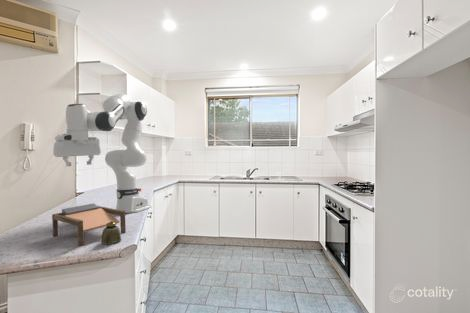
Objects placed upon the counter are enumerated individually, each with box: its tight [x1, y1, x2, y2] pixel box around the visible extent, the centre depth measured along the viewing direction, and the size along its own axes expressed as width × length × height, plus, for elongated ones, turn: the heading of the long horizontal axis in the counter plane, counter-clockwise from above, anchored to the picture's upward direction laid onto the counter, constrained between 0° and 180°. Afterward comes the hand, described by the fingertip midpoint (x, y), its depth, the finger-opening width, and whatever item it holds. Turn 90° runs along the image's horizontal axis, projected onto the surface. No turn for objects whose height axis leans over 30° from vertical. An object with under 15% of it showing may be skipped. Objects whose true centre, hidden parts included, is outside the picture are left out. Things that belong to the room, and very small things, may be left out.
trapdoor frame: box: [51, 205, 127, 247], centre depth 114 cm, size 20×24×10 cm
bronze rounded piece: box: [100, 222, 122, 246], centre depth 104 cm, size 8×7×8 cm
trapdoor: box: [61, 203, 120, 233], centre depth 113 cm, size 16×21×2 cm
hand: (79, 165), depth 121 cm, fingers open, 8 cm apart
